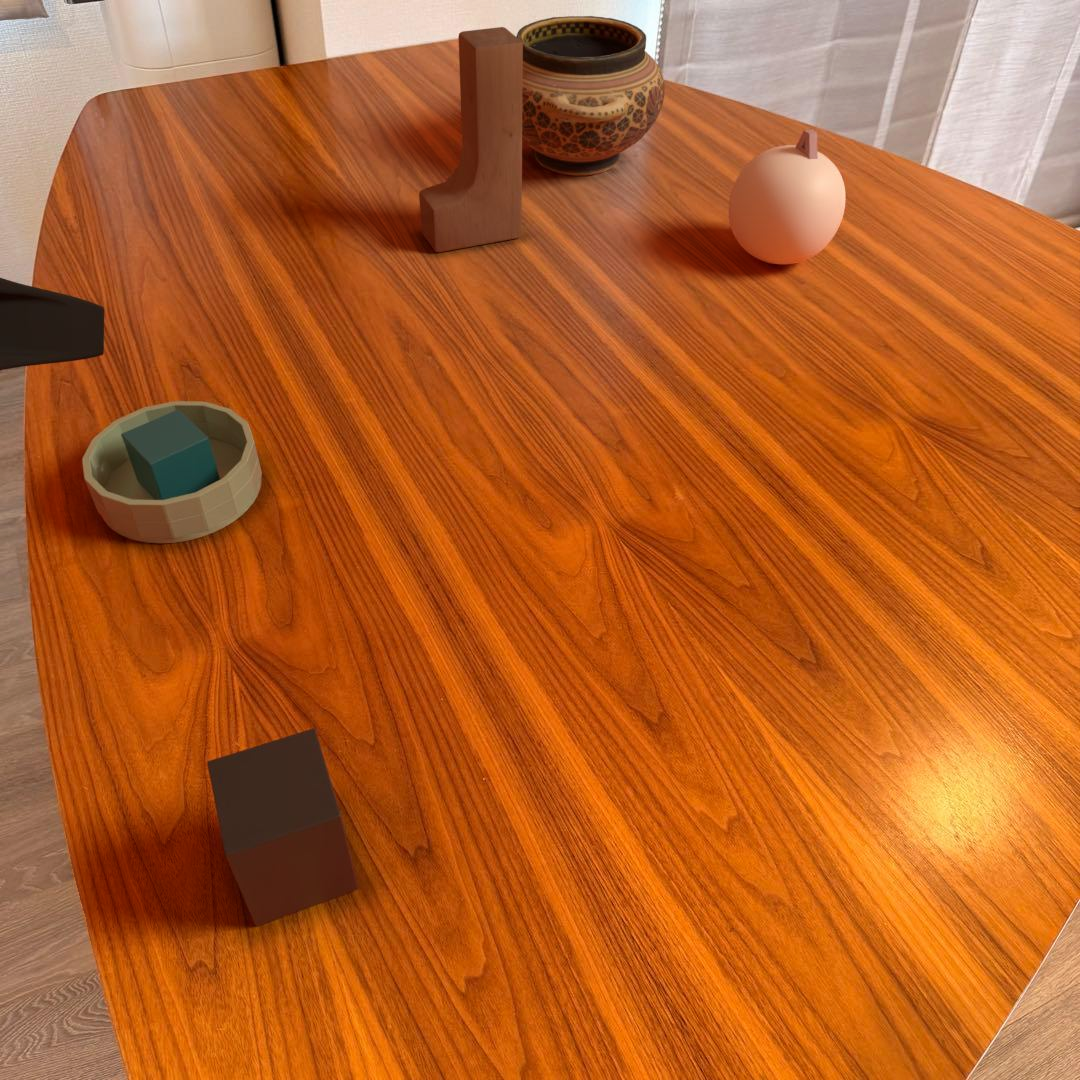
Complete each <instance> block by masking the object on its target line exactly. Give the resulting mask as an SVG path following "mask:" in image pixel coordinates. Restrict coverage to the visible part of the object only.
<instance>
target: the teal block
mask: <svg viewBox="0 0 1080 1080" xmlns="http://www.w3.org/2000/svg"><path fill="white" fill-rule="evenodd" d="M121 436H122V439H123V441H124V444H125V447H126V450H127V453H128V455H129V458H130V461H131V464H132V466H133V469H134V472H135V475H136V478H137V480H138V482H139V483H140V484H141V485H142V486H143V487H144V488H145V489H146V490H147V492H148V493H149V494H150V495H151V496H152V497H153V498H154V499H155V500H165V499H169V498H174V497H178V496H182V495H186V494H191V493H195V492H197V491H199V490H201V489H203V488H205V487H207V486H209V485H211V484H213V483H214V482H216V481H218V480H220V477H219V474H218V470H217V467H216V463H215V459H214V456H213V452H212V449H211V445H210V441H209V438H208V437H207V436H206V435H205V434H204V433H203V432H202V431H201V430H200V429H199V428H198V427H197V426H195V425H194V424H193V423H192V422H191V421H190V420H189V419H188V418H187V417H186V416H185V415H184V414H183V413H182V412H181V411H180V410H176V411H173V412H171V413H169V414H166V415H164V416H162V417H159V418H157V419H155V420H152V421H150V422H148V423H145V424H143V425H141V426H138V427H136V428H134V429H131V430H129V431H127V432H125V433H122V434H121Z"/></svg>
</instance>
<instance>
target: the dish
mask: <svg viewBox="0 0 1080 1080" xmlns="http://www.w3.org/2000/svg"><path fill="white" fill-rule="evenodd" d="M176 410H180V411H181V412H182V413H183V414H184V415H185V416H186V417H187V418H188V419H189V420H190V421H191V422H192V423H193V424H194V425H195V426H197V427H198V428H199V429H200V430H201V431H202V432H203V433H204V434H205V435H206V436H207V437H208V438H209V441H210V445H211V449H212V452H213V456H214V459H215V463H216V467H217V470H218V474H219V477H220V480H218V481H216V482H214V483H213V484H211V485H209V486H207V487H205V488H203V489H201V490H199V491H197V492H195V493H191V494H186V495H182V496H178V497H174V498H169V499H165V500H155V499H154V498H153V497H152V496H151V495H150V494H149V493H148V492H147V490H146V489H145V488H144V487H143V486H142V485H141V484H140V483H139V482H138V480H137V478H136V475H135V472H134V469H133V466H132V464H131V461H130V458H129V455H128V453H127V450H126V447H125V444H124V441H123V439H122V436H121V434H122V433H125V432H127V431H129V430H131V429H134V428H136V427H138V426H141V425H143V424H145V423H148V422H150V421H152V420H155V419H157V418H159V417H162V416H164V415H166V414H169V413H171V412H173V411H176ZM81 464H82V472H83V480H84V482H85V484H86V486H87V489H88V491H89V494H90V496H91V499H92V502H93V504H94V506H95V509H96V511H97V513H98V514H99V515H100V516H101V519H102V520H103V522H104V523H105V524H106V526H107V527H109V528H110V530H112V531H113V532H115V533H117V534H118V535H120V536H122V537H124V538H127V539H130V540H132V541H137V542H141V543H148V544H174V543H182V542H187V541H193V540H196V539H199V538H203V537H206V536H209V535H212V534H214V533H216V532H219V531H220V530H222V529H224V528H226V527H227V526H229V525H230V524H233V523H234V522H235V521H236V520H238V519H239V518H240V517H242V516H243V515H244V514H245V513H246V512H247V511H248V510H249V509H250V507H252V505H253V504H254V503H255V501H256V499H257V498H258V496H259V493H260V492H261V487H262V484H263V483H262V481H263V478H262V477H263V476H262V475H263V472H262V468H261V463H260V459H259V455H258V449H257V447H256V442H255V438H254V436H253V432H252V430H251V426H250V423H249V422H248V421H247V420H245V418H243V417H242V416H241V415H239V414H238V413H237V412H235V411H234V410H233V409H231V408H229V407H226V406H222V405H219V404H215V403H212V402H209V401H198V400H197V401H195V400H174V401H169V402H164V403H159V404H154V405H149V406H144V407H141V408H139V409H137V410H135V411H132V412H130V413H127V414H126V415H123V416H121V417H119V418H117V419H115V420H113V421H112V422H110V424H108V425H107V426H106V427H105V428H103V430H101V431H100V432H99V433H98V434H97V435H95V436H94V437H92V439H91V441H90V443H89V445H88V447H87V449H86V451H85V453H84V454H83V456H82V459H81Z"/></svg>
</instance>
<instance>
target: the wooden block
mask: <svg viewBox="0 0 1080 1080" xmlns="http://www.w3.org/2000/svg"><path fill="white" fill-rule="evenodd" d="M516 36H517V35H515V34H514V33H512V32H511V31H510V30H509V29H507V28H506V27H504V26H498V27H491V28H482V29H480V28H479V29H473V30H472V29H471V30H463V31H460V32H459V33H458V62H459V63H458V64H459V90H460V93H459V94H460V119H461V152H460V155H459V160H458V165H457V166H456V167H455V169H454V170H453V171H452V173H451V174H450V175H449V176H448V178H447V179H446V180H445V181H443V182H441V183H437V184H434V185H431V186H429V187H425V188H423V189H421V190H420V191H419V192H418V198H419V199H418V200H419V212H420V213H419V214H420V228H421V229H420V230H421V233H422V235H423V236H424V238H425V239H426V240H427V242H428V244H429V245H430V246H431V248H432V249H433V251H434V252H435V253H444V252H448V251H449V252H450V251H455V250H460V249H465V248H470V247H476V246H482V245H487V244H493V243H497V242H504V241H509V240H515V239H519V238H521V237H522V221H523V220H522V217H523V216H522V213H523V212H522V209H523V207H522V205H523V198H522V197H523V142H522V82H523V44H522V41H521V40H519V39H518V38H517V37H516Z"/></svg>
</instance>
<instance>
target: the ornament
mask: <svg viewBox="0 0 1080 1080" xmlns="http://www.w3.org/2000/svg"><path fill="white" fill-rule="evenodd" d="M846 194H847V193H846V187H845V183H844V179H843V177H842V174H841V172H840V170H839V169H838V167H837V166H836V164H835V163H834V162H833V161H831V159H829V157H827V156H826V155H824V154H823V153H822V152H820V151H818V131H816V130H815V129H812V128H810V129H804V130H803V131H802V133H801V135H800V138H799V139H798V141H797V142H796V145H795V144H788V145H779V146H775V147H771V148H769V149H766V150H764V151H762V152H760V153H759V154H757V155H756V156H754V157H753V158H752V159H750V160H749V161H748V163H747V164H745V166H744V167H743V169H742V170H741V171H740V173H739V174H738V176H737V178H736V179H735V182H734V184H733V186H732V189H731V191H730V196H729V201H728V220H729V225H730V229H731V231H732V234H733V236H734V238H735V239H736V241H737V243H738V244H739V245H740V246H741V248H742V249H743V250H744V251H745V252H747V253H748V254H749V255H751V256H752V257H753V258H755V259H757V260H760V261H762V262H765V263H768V264H773V265H794V264H798V263H801V262H804V261H807V260H809V259H811V258H813V257H815V256H816V255H818V254H819V253H820V252H822V251H823V250H824V249H825V248H826V247H827V246H828V245H829V244H830V242H831V241H832V240H833V238H834V237H835V235H836V234H837V232H838V230H839V228H840V226H841V223H842V221H843V217H844V214H845V209H846V201H847V199H846Z"/></svg>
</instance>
